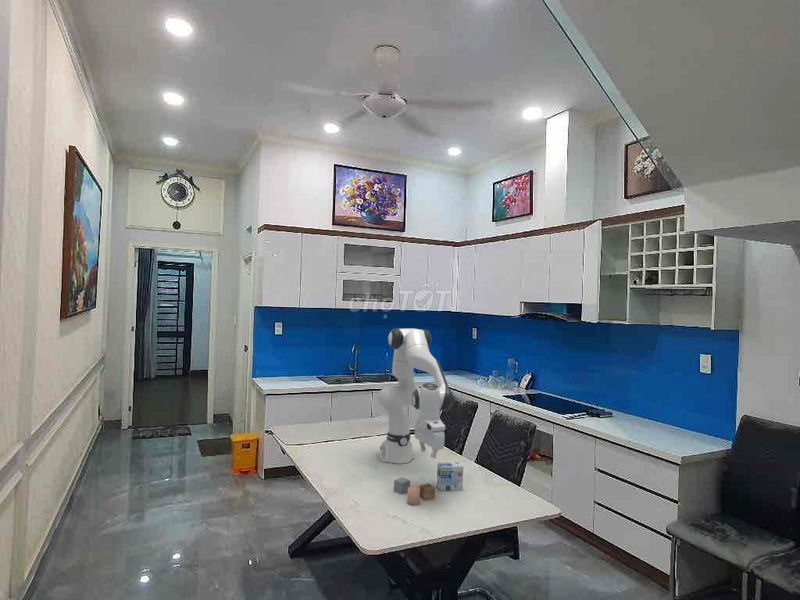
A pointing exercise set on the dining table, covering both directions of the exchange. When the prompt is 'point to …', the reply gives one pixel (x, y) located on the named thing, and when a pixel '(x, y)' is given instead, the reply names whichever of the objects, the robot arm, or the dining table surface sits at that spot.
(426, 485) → the walnut cube
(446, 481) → the light bulb box
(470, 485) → the dining table surface
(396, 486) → the slate cube
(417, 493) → the cylinder
